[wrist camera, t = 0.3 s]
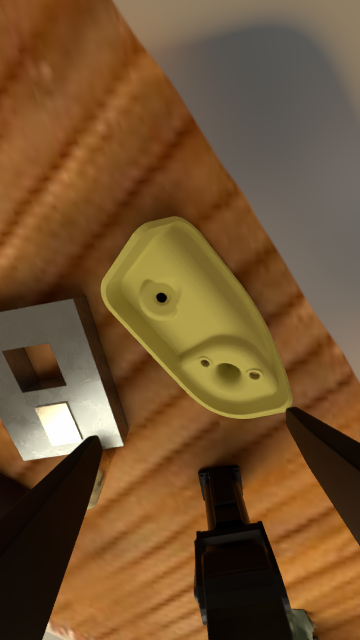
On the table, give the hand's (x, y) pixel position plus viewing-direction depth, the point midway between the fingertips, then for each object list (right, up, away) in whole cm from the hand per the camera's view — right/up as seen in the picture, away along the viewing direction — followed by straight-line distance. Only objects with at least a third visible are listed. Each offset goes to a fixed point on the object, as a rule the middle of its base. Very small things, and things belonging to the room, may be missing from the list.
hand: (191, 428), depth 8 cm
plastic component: (+1, +5, +14) cm, 15 cm away
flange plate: (-17, -3, +15) cm, 23 cm away
